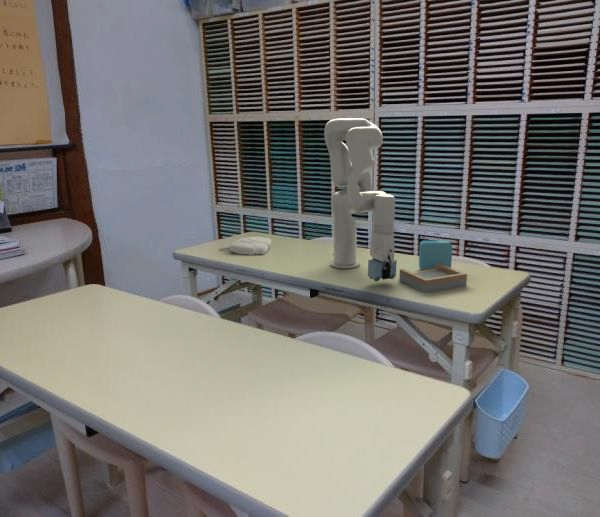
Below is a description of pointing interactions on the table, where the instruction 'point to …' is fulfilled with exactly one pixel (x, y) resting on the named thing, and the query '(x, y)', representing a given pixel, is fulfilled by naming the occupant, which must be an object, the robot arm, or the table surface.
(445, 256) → the data package
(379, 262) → the grey-blue rounded box
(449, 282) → the tray
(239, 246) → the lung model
